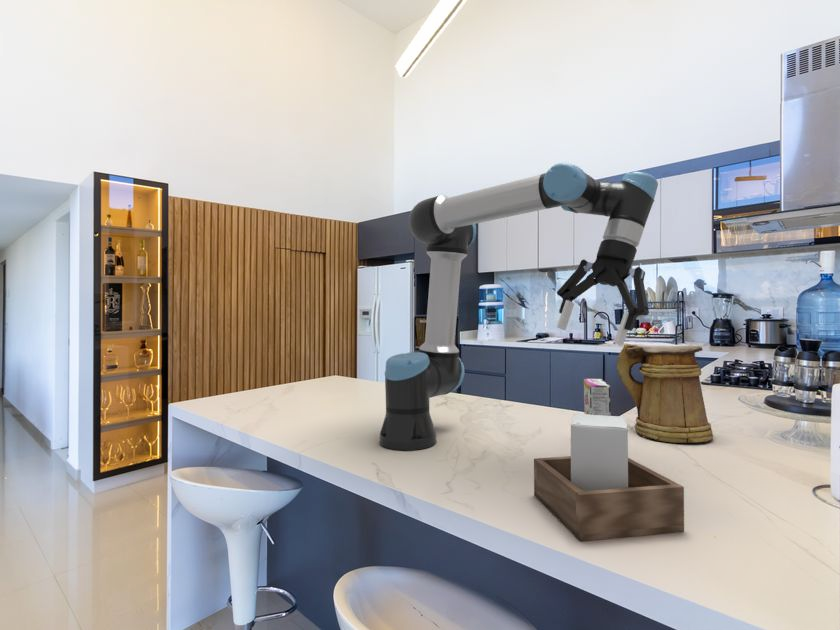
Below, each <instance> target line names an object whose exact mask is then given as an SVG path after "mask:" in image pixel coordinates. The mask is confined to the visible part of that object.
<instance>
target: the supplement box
mask: <svg viewBox="0 0 840 630" xmlns="http://www.w3.org/2000/svg"><path fill="white" fill-rule="evenodd" d="M628 430H629V429H628V426H627V421H626V418H625V416H618V415H611V416H602V415H590V414H584V413H574V414H573V415H572V419H571V422H570V456H571V482H572V483H573V484H574V485H576V486H577V487H578V488H579V489H581V490H582V491H594V490H607V489H620V488H628V458H629V436H628Z"/></svg>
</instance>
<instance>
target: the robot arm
mask: <svg viewBox="0 0 840 630" xmlns="http://www.w3.org/2000/svg"><path fill="white" fill-rule="evenodd" d="M658 187H659V182H658V180H657V178H655V177H654V176H653V175H652V174H649V173H647V172H643V171H642V172H641V171H633V172H630V171H629V172H627V173H625V174H624V175H623V177H622V179H621V180H620V181H619V182H617V181H616V182H614V181H612V182H611V181H605V180H604V181H603V180H601V181H600V180H596V179H594V178H593V177H592V176H591V175H589V174H588V173H586V172H585V171H584V170H583V169H582V168H581V167H580V166H578V165H575V164H572V163H569V162H567V161H566V162H565V161H563V162H559V163H555V164H554V165H553V166H551V167H550V168H548V170H547V171H546V172H543V173H541V174H537V175H533V176H529V177H526V178H521V179H518V180H517V179H516V180H514V181H509V182H506V183H502V184H499V185H493V186H490V187H487V188H481V189H478V190H477V189H476V190H474V191H470V192H466V193H461V194H458V195H454V196H450V197H448V196H447V195H444V194H441V195H437V196H433V197H430V198H426V199H424V200H423V199H422V201H419V202H418V203H417V204H416V205H414V207H413V208H412V209H411V211H410V213H409V217H408V227H409V229H410V232H411V233H410V234H411V235H412V236H413V237H414V238H415V239H416V240H418V241H419V242H420V243H422V244H425V245H426V255H428V257H429V258H430V272H429V281H428V282H429V284H428V298H427V309H426V322H425V323H426V324H425V335H424V336H425V337H424V343H422V344H421V345H420V346H419V347H418V352H406V353H405V352H404V353H398V354H395V355H392V356H390V357H388V358H387V360H386V362H385V371H384V376H385V379H384V380H385V383H384V384H385V386H384V388H385V389H384V390H385V416H384V419H383V423H382V426H381V430H380V433H379V445H380V446H381V447H384V448H386V449H390V450H396V451H415V450H416V451H417V450H423V449H427V448H430V447H433V446H435V445H436V444H437V432H436V428H435V426H434V423H433V420H432V416H431V413H430V398H435V397H438V396H439V397H440V396H444V395H448V394H450V393H452V392H454V391H456V390H457V389H458V388H460V387H461V385H462V383H463V381H464V377H465V366H464V363H463V362H462V359H461V358H460V350H459V348H458V347H457V345H455V342H456V329H457V316H458V304H459V291H460V283H461V281H460V279H461V269H462V268H461V267H462V266H461V265H462V261H463V260H464V259H465V258H466V257H468V249H469V247H471V245H472V244H473V243H474V242H475V240H476V235H477V224H480V223H486V222H490V221H495V220H499V219H500V220H501V219H503V218H509V217H514V216H518V215H524V214H529V213H533V212H538V211H541V210H547V209H548V210H549V209H553V208H558V207H561V208H562V210H564V211H566V212H571V213H574V214H585V215H594V216H604V217H609V218H608V221H607V224H606V227H605V230H604V233H603V236H602V241H600V244H599V247H598V251H597V253H596V259H595V261H594V262H589V261H587V260H586V259H585V258H583V259H581V260H580V263H579V264H578V267H577V268H576V269H575V271H574V272H573V273H572V274H571V275H570V276H569V277H568V279H567V280H566V281H565V282H564V283H563V284H562V286H561V287H560V288H559V289H558V290H557V292H556V294H557V296H559V297H561V299H562V301H561V304H560V307H559V310H558V311H559V312H558V313H559V314H560V317H559V320H558V322H557V326H556V328H558V329H561V330H563V331H566V330H567V327H568V323H569V321H570V318H571V315H572V312H573V309H574V306H575V303H574V302H573V301H574V300H576V299H577V298H578V297H580V296H582V294H583V293H585V292H587V291H588V290H589V289H591V288H592V287H594V286H596V285H598V284H600V285H603V286H607V285H608V286H610V287H614V288H615V287H617V288H618V289H617V290H618V292H619V293H620V296H621V297H622V298H621V299H622V300H623V302H624V305H625V306H626V309H627V312H628V313H627V312H624V313H623V314H622V318H621V320H620V324H619V327H618V330H617V333H616V336H615V339H614V341H613V343H614V344H617V345H618V346H622V347H624V344H625V341H626V337H627V334H628V332H632V331H633V329H634V327H635V324H636V322H637V319H638V317H639V316H648V315H649V314H650V312H649V305H648V299H647V295H646V288H645V282H644V281H645V277H646V276H645V275H646V271H644V269H643V268H642V267H640V266H637V267H635V268H632V264H633V263H634V260H635V257H636V254H637V247H638V246H639V245H640V242H641V239H642V236H643V233H644V230H645V227H646V223H647V221H648V219H649V215H650V213H651V209H652V208H653V204H654V202H655V198H656V194H657V189H658ZM591 270H592V272H591V273H589V274H588V275H587V273H588V272H590V271H591ZM586 275H587V276H586ZM585 276H586V278H585V279H583V278H584V277H585ZM629 276H631V278H632V279H633V285H634V292H635V298H636V303H635V301H634V299H633V297H632V294H631V292H630V290H629V288H628V284H627V282H626V281H625V280H626V279H627V278H628V277H629ZM582 279H583V280H582ZM636 304H637V305H636Z"/></svg>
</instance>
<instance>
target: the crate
mask: <svg viewBox="0 0 840 630" xmlns="http://www.w3.org/2000/svg"><path fill="white" fill-rule="evenodd" d="M533 490H534V491H533V497H534V498H536V499H537V500H538V502H540V503H541V504H542V505H543V506H544V507H545V508H546V509H547V510H548V511H549V512H550V513H551V514H552V515H553V516H554V517H555V518H556V519H557V520H558V521H559V522H560V523H561V524H562V525H563V526H564V527H565V528H566V529H567V530H568V531H569V532H570V533H571V534H573V536H574V537H576V539H577V540H578V542H587V541H597V540H606V539H607V540H608V539H618V538H628V537H639V536H650V535H660V534H661V535H662V534H670V533H682V532H685V486H683V485H681V484H679V483H677V482H676V481H674V480H671V478H668V477H666V476H664V475H662V474H660V473H658V472H657V471H654V470H653V469H650V468H648V467H647V466H646V465H645V466H644V465H643V464H641V463H640V462H637V461H635V460H633V459H631V458H629V457H628V488H620V489H607V490H594V491H582V490H581V489H579V488H578V487H577V486H576V485H574V484H573V483H572V482H571V455H570V456H569V455H568V456H567V455H566V456H553V457H539V458H537V457H536V458H533Z"/></svg>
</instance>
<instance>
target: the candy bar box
mask: <svg viewBox="0 0 840 630" xmlns="http://www.w3.org/2000/svg"><path fill="white" fill-rule="evenodd" d="M583 403H584V404H583V406H584V409H583V410H584V412H583V414H590V415H602V416H612V414H611V413H612V412H611V385H610V384H608V383H607V382H606V381H605V380H604V379H602V378H584V379H583Z"/></svg>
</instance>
